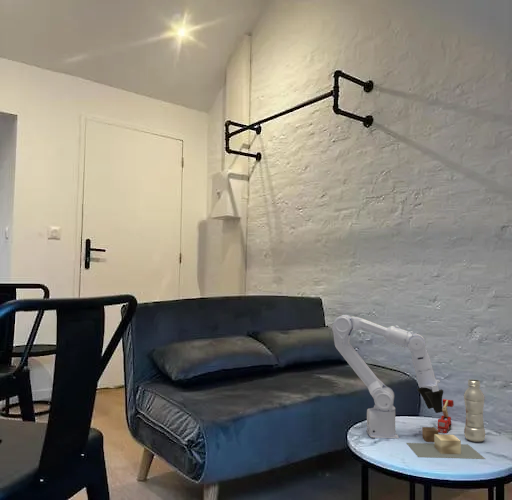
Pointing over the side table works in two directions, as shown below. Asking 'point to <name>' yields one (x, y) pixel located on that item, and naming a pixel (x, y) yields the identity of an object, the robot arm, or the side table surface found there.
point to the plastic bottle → (474, 412)
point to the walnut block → (429, 433)
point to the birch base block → (447, 444)
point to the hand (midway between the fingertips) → (435, 410)
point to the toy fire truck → (442, 423)
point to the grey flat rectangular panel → (431, 452)
